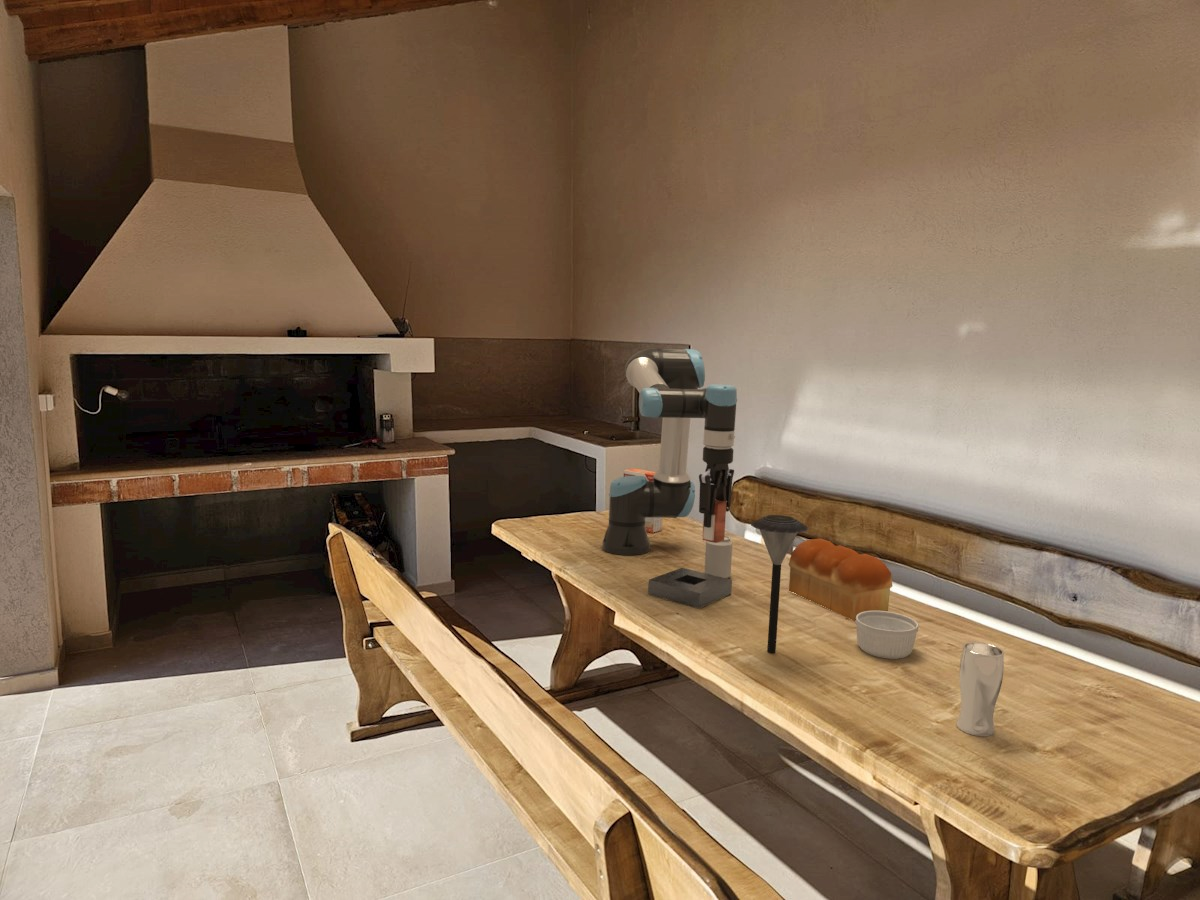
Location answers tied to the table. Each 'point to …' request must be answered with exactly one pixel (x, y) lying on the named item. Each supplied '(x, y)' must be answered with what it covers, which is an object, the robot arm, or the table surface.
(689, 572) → the socket block
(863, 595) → the bread
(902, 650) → the ramekin
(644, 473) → the cracker box
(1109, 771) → the table surface
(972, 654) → the beer glass
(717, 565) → the can
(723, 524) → the peg
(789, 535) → the solar garden light
